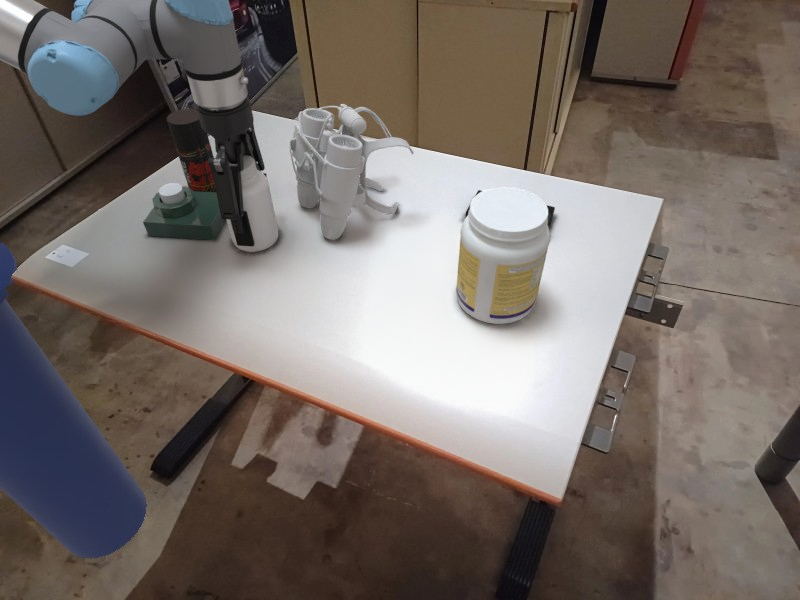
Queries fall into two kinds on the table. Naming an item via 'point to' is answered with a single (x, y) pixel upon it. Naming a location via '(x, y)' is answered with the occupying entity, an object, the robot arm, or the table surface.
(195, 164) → the deodorant
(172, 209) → the button base
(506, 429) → the table surface
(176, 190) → the white button cap
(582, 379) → the table surface
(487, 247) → the supplement tub
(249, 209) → the pill bottle
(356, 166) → the rocket backpack
